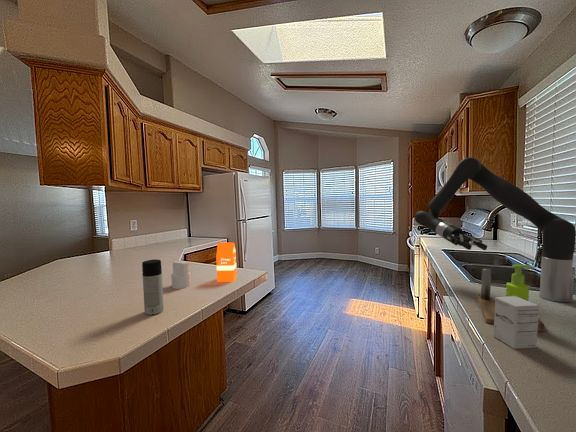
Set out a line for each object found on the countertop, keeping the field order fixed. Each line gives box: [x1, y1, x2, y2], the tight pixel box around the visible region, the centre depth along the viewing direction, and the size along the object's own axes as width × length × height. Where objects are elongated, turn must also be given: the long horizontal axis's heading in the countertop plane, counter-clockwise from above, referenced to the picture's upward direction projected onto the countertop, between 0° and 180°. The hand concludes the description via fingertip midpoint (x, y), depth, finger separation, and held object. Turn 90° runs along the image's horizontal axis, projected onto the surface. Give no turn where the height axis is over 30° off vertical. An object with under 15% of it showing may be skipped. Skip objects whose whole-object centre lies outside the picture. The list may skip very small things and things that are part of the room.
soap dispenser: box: [505, 263, 535, 301], centre depth 94 cm, size 6×7×20 cm
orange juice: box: [215, 242, 238, 283], centre depth 147 cm, size 8×9×20 cm
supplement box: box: [493, 296, 540, 350], centre depth 82 cm, size 7×7×13 cm
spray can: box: [141, 259, 164, 316], centre depth 107 cm, size 7×7×20 cm
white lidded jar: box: [170, 260, 192, 290], centre depth 138 cm, size 9×9×12 cm
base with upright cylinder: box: [476, 268, 545, 333], centre depth 102 cm, size 15×25×14 cm, turn 152°
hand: (478, 248), depth 116 cm, fingers open, 8 cm apart
